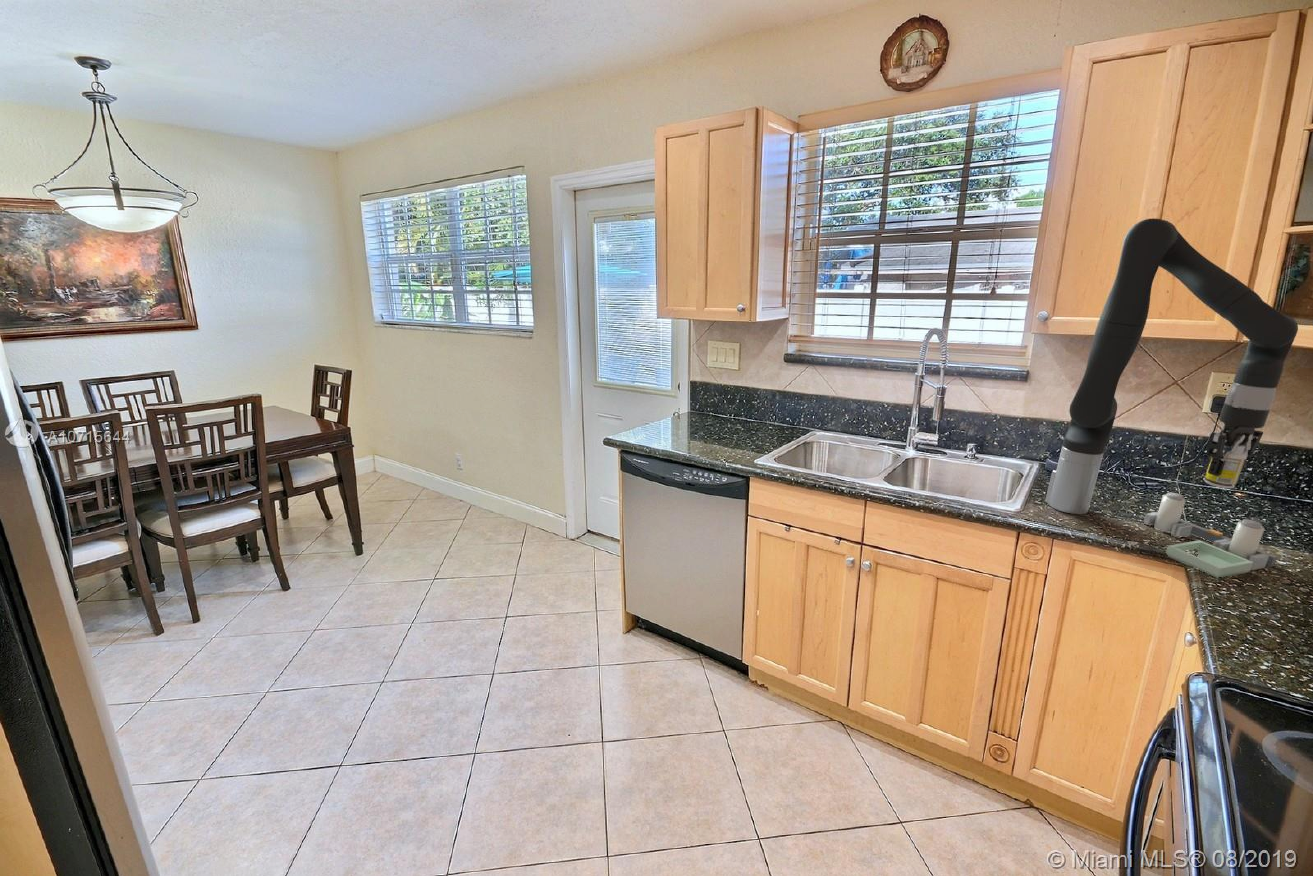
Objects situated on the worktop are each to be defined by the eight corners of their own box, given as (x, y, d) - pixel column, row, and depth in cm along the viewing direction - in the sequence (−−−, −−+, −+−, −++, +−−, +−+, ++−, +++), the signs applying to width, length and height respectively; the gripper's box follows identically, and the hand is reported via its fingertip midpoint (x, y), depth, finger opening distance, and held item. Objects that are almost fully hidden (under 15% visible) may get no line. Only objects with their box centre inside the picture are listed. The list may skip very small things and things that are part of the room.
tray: (1164, 555, 138) (1167, 545, 137) (1196, 549, 141) (1199, 540, 140) (1216, 578, 128) (1220, 568, 127) (1249, 572, 131) (1253, 562, 130)
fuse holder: (1142, 524, 154) (1145, 513, 153) (1161, 520, 156) (1165, 510, 155) (1253, 570, 132) (1257, 558, 131) (1274, 566, 134) (1278, 554, 133)
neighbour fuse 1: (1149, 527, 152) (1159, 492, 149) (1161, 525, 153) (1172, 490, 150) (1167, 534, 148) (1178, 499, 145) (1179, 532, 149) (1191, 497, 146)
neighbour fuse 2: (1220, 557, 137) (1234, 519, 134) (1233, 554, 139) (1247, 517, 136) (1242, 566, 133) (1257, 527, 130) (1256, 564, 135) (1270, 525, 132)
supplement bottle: (1217, 480, 141) (1232, 440, 138) (1241, 489, 136) (1257, 448, 133) (1196, 480, 141) (1211, 440, 137) (1220, 489, 136) (1235, 448, 132)
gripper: (1249, 398, 138) (1225, 465, 143) (1206, 401, 134) (1183, 470, 139) (1289, 406, 131) (1262, 476, 136) (1245, 410, 127) (1220, 482, 132)
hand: (1222, 473), depth 137 cm, fingers closed on supplement bottle, 5 cm apart
